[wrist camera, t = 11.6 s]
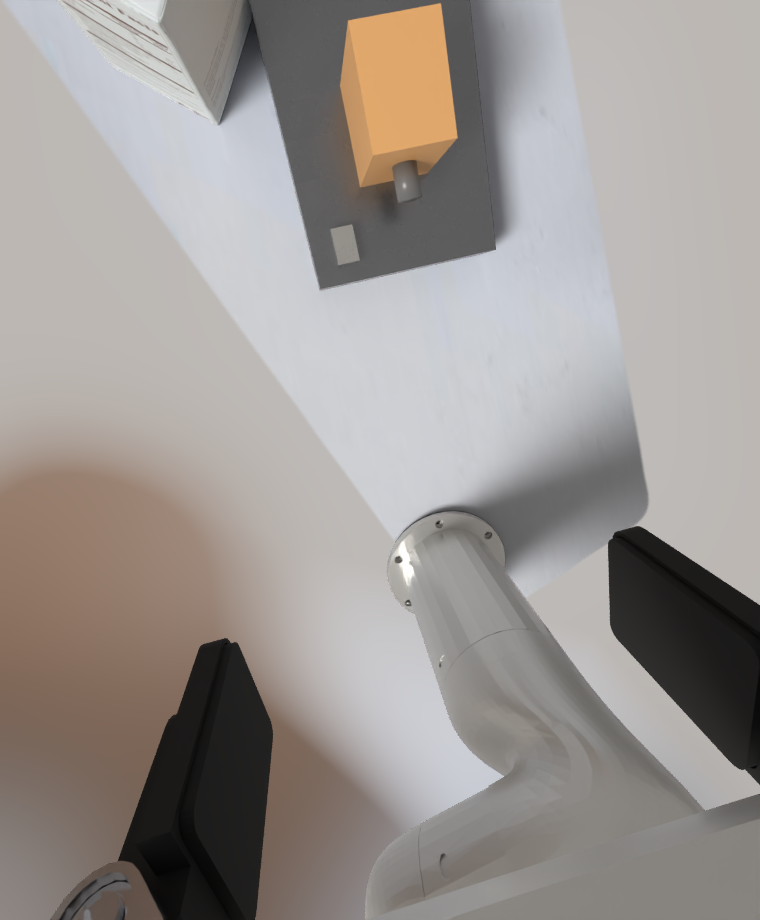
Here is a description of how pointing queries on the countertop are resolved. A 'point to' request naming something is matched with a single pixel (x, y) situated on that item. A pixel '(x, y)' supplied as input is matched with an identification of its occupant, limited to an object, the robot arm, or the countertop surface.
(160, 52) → the supplement box
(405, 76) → the orange block
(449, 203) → the dark gray rectangular board
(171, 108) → the countertop surface
